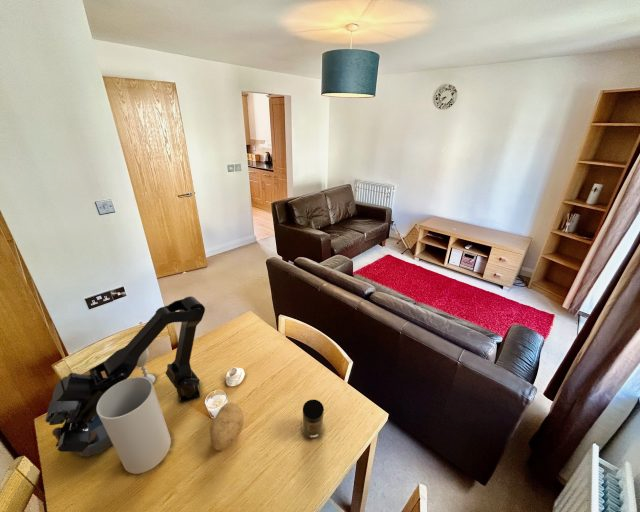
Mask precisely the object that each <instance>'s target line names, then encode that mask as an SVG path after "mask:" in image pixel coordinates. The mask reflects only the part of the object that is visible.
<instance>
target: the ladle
mask: <svg viewBox="0 0 640 512" xmlns="http://www.w3.org/2000/svg"><path fill="white" fill-rule="evenodd" d="M61 427H62V426H57V427H54V429H53V430H52V431H51V434H52V436H54V437H55V439H56V440H57V442H58V441H59V439H60V432H61ZM90 433H91V436H90V444H89V445H92V444H93V443H94V442H95V441H96V440H97V437H98V436H97V433H96V432H95V431H90Z"/></svg>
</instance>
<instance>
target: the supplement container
mask: <svg viewBox="0 0 640 512" xmlns="http://www.w3.org/2000/svg"><path fill="white" fill-rule="evenodd" d="M324 411H325V408H324V404H323V403H322V402H321V401H320V400H318V399H309V400H307V401H305V402H304V404H303V406H302V432H303V434H304V435H305V437H306V438H307V439H311V440H314V439H315V440H316V439H318V438H319V437H320V436H321V435H322V433H323V428H324V414H325V412H324Z"/></svg>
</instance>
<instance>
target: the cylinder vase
mask: <svg viewBox="0 0 640 512" xmlns="http://www.w3.org/2000/svg"><path fill="white" fill-rule="evenodd" d="M97 413H98V415H99V417H100V419H101V421H102V423H103V425H104V427H105V429H106V431H107V433H108V435H109V437H110V439H111V441H112V445H113V447H114V450H115V451H116V454H117V456H118V458H119V460H120V462H121V464H122V466H123V468H124V470H125V471H126V472H128V473H130V474H135V475H139V474H143V473H146V472H150V471H151V470H152V469H153V468H155V467H156V466H158V465H159V464H160V463H161V462H162V461H163V460H164V459H165V457H166V456H167V455H168V453H169V452H170V451H169V450H170V448H171V443H172V438H171V435H170V431H169V429H168V425H167V423H166V421H165V420H166V419H165V417H164V414H163V411H162V408H161V405H160V401H159V399H158V395H157V393H156V390H155V387H154V384H153V383H152V382H151V380H150V379H148V378H146V377H143V376H132V377H128V378H127V379H125V380H123V381H121V382H119V383H117V384H115V385H114V386H112V387H111V388H109V389H108V390H107V391H106V392H105V393H104V394H103V395H102V397H101V398H100V399H99V401H98V404H97Z"/></svg>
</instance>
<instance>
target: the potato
mask: <svg viewBox="0 0 640 512" xmlns="http://www.w3.org/2000/svg"><path fill="white" fill-rule="evenodd" d="M212 420H213V421H212V422H211V424H210V427H209V434H210V442H211V445H212V447H213V448H214V449H215V450H217V451H226V450H227V449H228V448H230V447H231V446H232V445H233V444H234V443H235V442H236V441H237V440H238V438H239V435H240V433H241V431H242V428H243V426H244V413H243V409H242V408H241V407H240V405H239V404H237V403H235V402H226V403H224V404H223V405H222V406H221V407H220V408H219V410H218V412H217V413H216V416H215V417H214V419H212Z"/></svg>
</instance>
